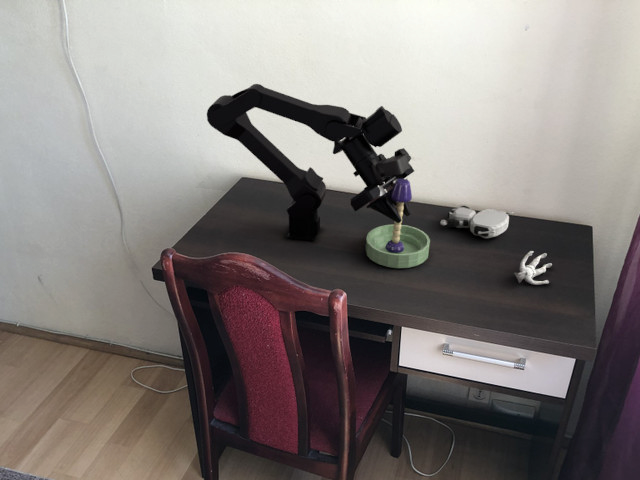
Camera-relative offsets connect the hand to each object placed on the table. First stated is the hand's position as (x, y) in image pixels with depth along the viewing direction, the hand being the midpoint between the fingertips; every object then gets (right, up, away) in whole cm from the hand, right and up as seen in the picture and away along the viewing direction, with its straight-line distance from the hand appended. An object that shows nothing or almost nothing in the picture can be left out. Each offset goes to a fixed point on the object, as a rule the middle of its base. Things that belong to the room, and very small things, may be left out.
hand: (404, 218), depth 152 cm
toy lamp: (-1, -6, +5) cm, 8 cm away
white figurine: (+28, -13, -1) cm, 31 cm away
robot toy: (+19, -1, +16) cm, 25 cm away
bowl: (-1, -7, +6) cm, 9 cm away
